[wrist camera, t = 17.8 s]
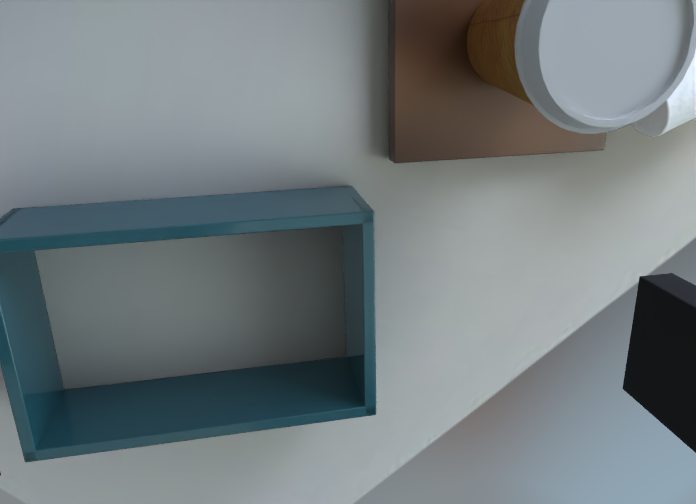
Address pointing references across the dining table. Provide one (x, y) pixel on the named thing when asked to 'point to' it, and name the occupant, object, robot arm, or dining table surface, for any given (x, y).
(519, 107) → the board
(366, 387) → the teal open box
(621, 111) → the disposable coffee cup
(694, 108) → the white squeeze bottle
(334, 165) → the dining table surface
